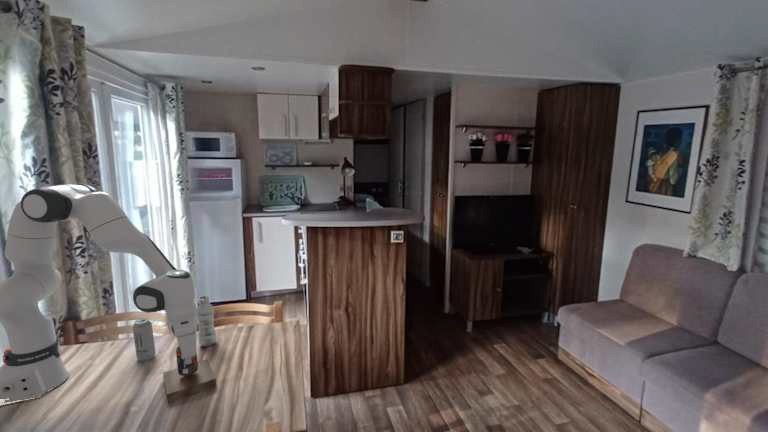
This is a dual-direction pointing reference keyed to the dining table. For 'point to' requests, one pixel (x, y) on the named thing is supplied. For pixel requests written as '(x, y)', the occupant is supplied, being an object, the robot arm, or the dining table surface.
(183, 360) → the supplement bottle
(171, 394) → the beige flat square block
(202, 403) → the dining table surface
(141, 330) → the energy drink can
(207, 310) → the plastic bottle
